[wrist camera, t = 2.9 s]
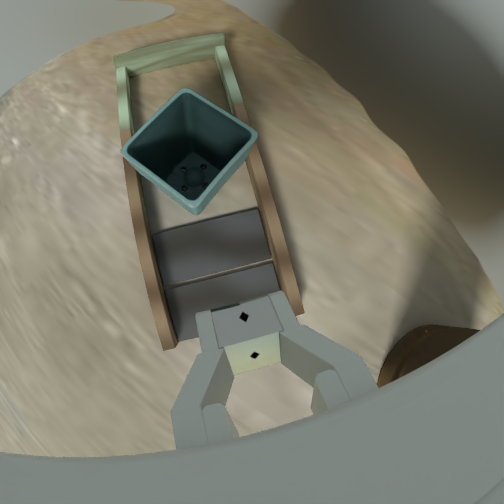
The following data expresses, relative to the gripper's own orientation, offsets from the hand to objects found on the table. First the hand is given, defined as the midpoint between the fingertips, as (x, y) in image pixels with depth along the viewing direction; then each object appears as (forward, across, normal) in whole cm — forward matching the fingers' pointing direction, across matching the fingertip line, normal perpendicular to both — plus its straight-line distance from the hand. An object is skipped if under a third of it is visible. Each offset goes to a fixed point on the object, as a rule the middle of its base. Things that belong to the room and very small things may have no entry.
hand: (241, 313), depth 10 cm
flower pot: (+25, 0, +6) cm, 26 cm away
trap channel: (+25, 0, +6) cm, 25 cm away
